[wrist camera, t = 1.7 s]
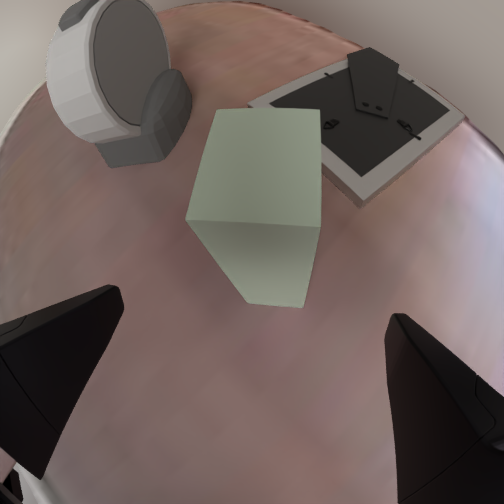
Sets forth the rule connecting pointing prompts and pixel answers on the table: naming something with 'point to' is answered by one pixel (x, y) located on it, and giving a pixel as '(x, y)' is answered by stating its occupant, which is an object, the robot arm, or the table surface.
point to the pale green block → (261, 201)
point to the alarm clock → (117, 81)
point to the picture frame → (368, 120)
